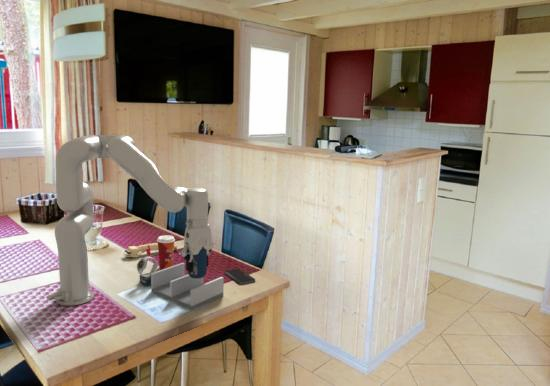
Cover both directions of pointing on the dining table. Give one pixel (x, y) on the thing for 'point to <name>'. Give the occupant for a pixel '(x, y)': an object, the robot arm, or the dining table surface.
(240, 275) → the phone
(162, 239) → the paper cup
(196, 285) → the drying rack
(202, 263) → the soda can
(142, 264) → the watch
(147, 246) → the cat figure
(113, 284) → the dining table surface
